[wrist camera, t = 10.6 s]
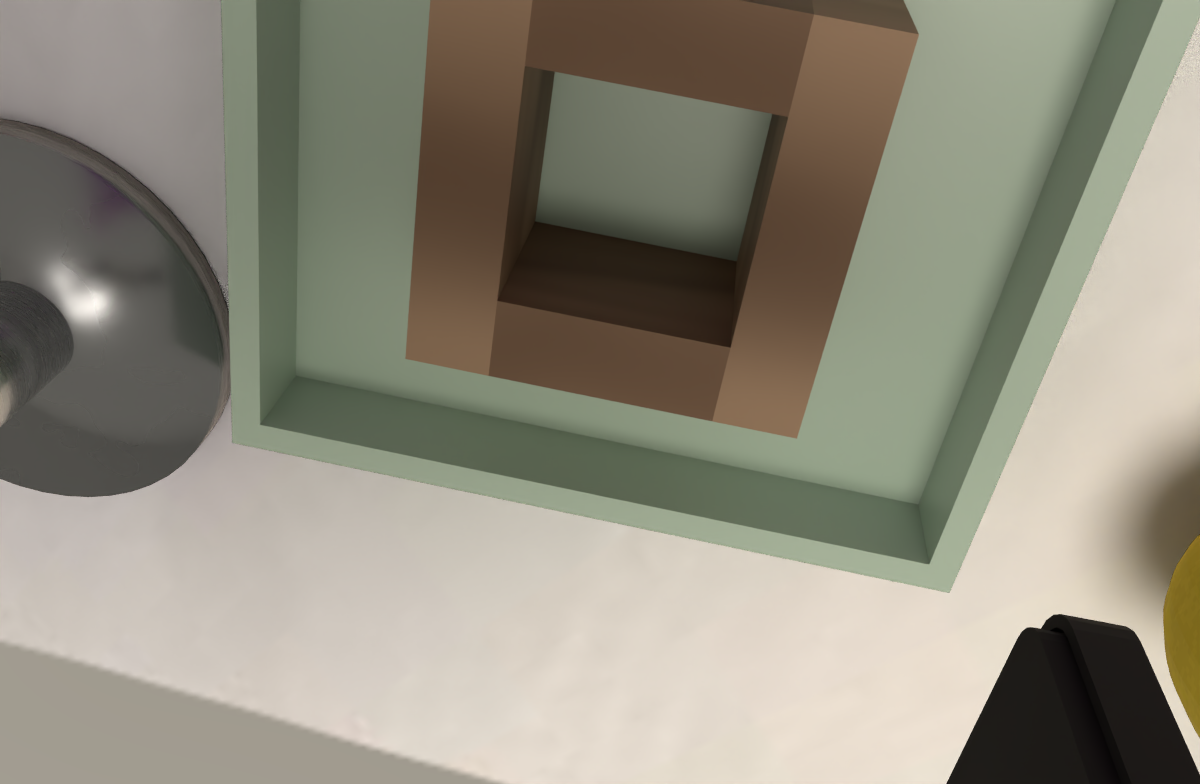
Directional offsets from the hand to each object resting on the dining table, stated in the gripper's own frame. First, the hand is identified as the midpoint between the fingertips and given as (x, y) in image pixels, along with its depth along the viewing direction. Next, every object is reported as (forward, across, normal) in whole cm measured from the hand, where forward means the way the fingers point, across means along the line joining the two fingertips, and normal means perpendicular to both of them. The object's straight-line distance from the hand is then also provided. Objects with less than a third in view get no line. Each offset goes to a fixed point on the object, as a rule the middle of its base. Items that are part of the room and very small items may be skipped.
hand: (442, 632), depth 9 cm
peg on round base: (+14, +12, +7) cm, 20 cm away
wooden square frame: (+13, -1, 0) cm, 13 cm away
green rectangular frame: (+14, -1, 0) cm, 14 cm away
